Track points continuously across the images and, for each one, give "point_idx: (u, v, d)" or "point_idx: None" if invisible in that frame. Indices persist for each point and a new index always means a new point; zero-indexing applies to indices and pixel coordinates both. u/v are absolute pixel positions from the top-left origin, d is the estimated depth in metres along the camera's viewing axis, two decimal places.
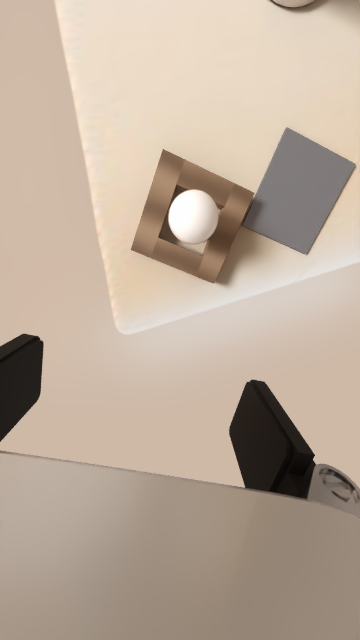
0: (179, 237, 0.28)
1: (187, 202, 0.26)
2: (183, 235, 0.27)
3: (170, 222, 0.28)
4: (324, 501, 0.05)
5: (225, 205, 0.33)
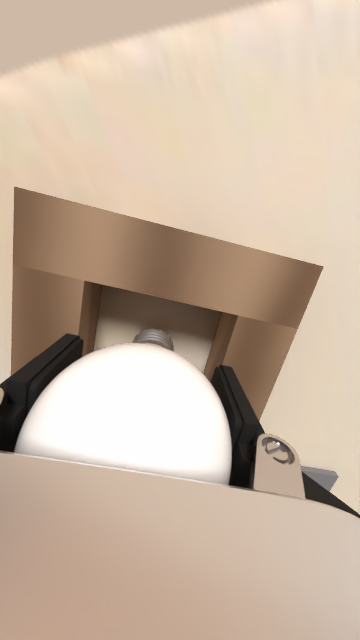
0: (20, 432, 0.06)
1: None
2: None
3: (73, 386, 0.05)
4: (268, 469, 0.06)
5: None
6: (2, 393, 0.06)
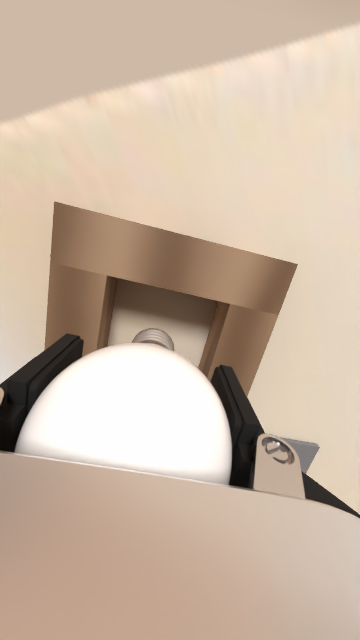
0: (20, 432, 0.06)
1: None
2: None
3: (74, 386, 0.05)
4: (268, 469, 0.06)
5: None
6: (2, 393, 0.06)
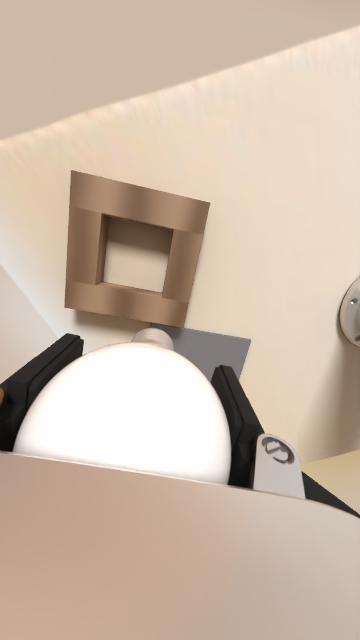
0: (18, 432, 0.06)
1: None
2: None
3: (72, 385, 0.05)
4: (268, 469, 0.06)
5: (163, 298, 0.26)
6: (2, 393, 0.06)
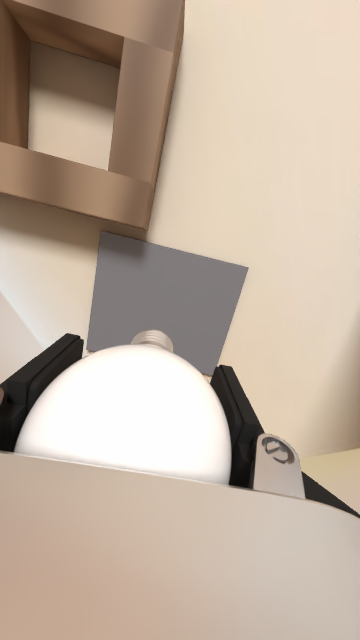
0: (19, 435, 0.06)
1: None
2: None
3: (73, 388, 0.05)
4: (268, 469, 0.06)
5: (110, 172, 0.16)
6: (2, 393, 0.06)
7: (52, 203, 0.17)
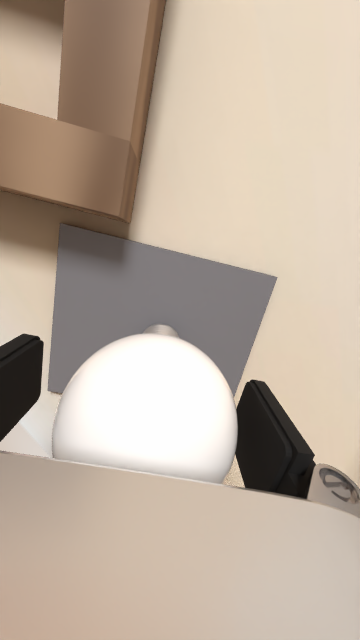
0: (58, 407, 0.07)
1: (183, 464, 0.05)
2: (56, 440, 0.06)
3: (106, 366, 0.06)
4: (324, 501, 0.05)
5: (61, 121, 0.10)
6: None
7: None
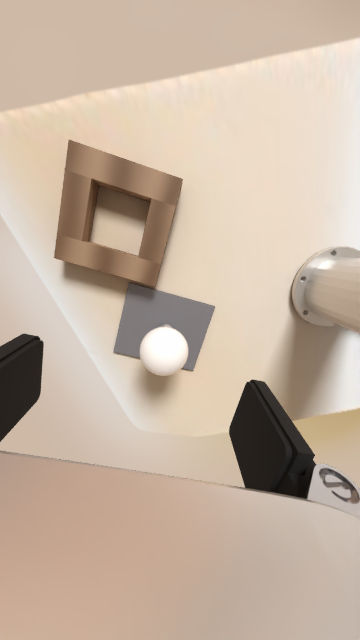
0: (143, 343, 0.28)
1: (173, 353, 0.26)
2: (144, 349, 0.27)
3: (156, 333, 0.27)
4: (324, 501, 0.05)
5: (139, 258, 0.31)
6: None
7: (106, 272, 0.31)
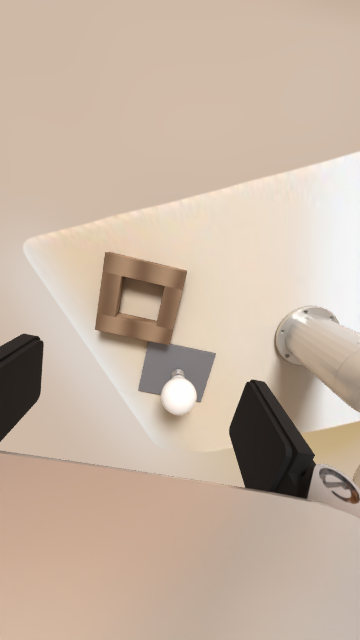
0: (163, 393, 0.38)
1: (186, 400, 0.37)
2: (165, 398, 0.38)
3: (172, 385, 0.38)
4: (324, 501, 0.05)
5: (156, 326, 0.41)
6: None
7: None
